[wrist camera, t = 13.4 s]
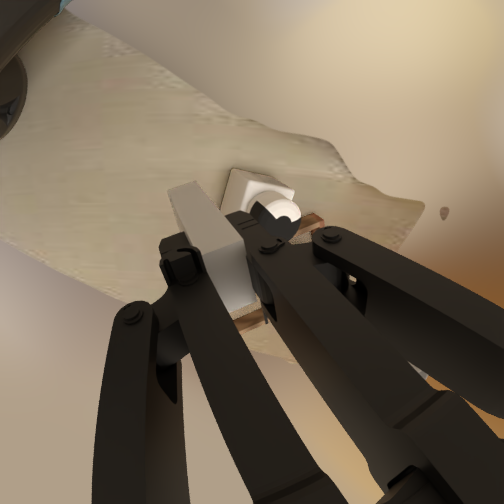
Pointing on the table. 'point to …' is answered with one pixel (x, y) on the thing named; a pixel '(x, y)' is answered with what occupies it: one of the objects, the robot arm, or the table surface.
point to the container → (262, 202)
